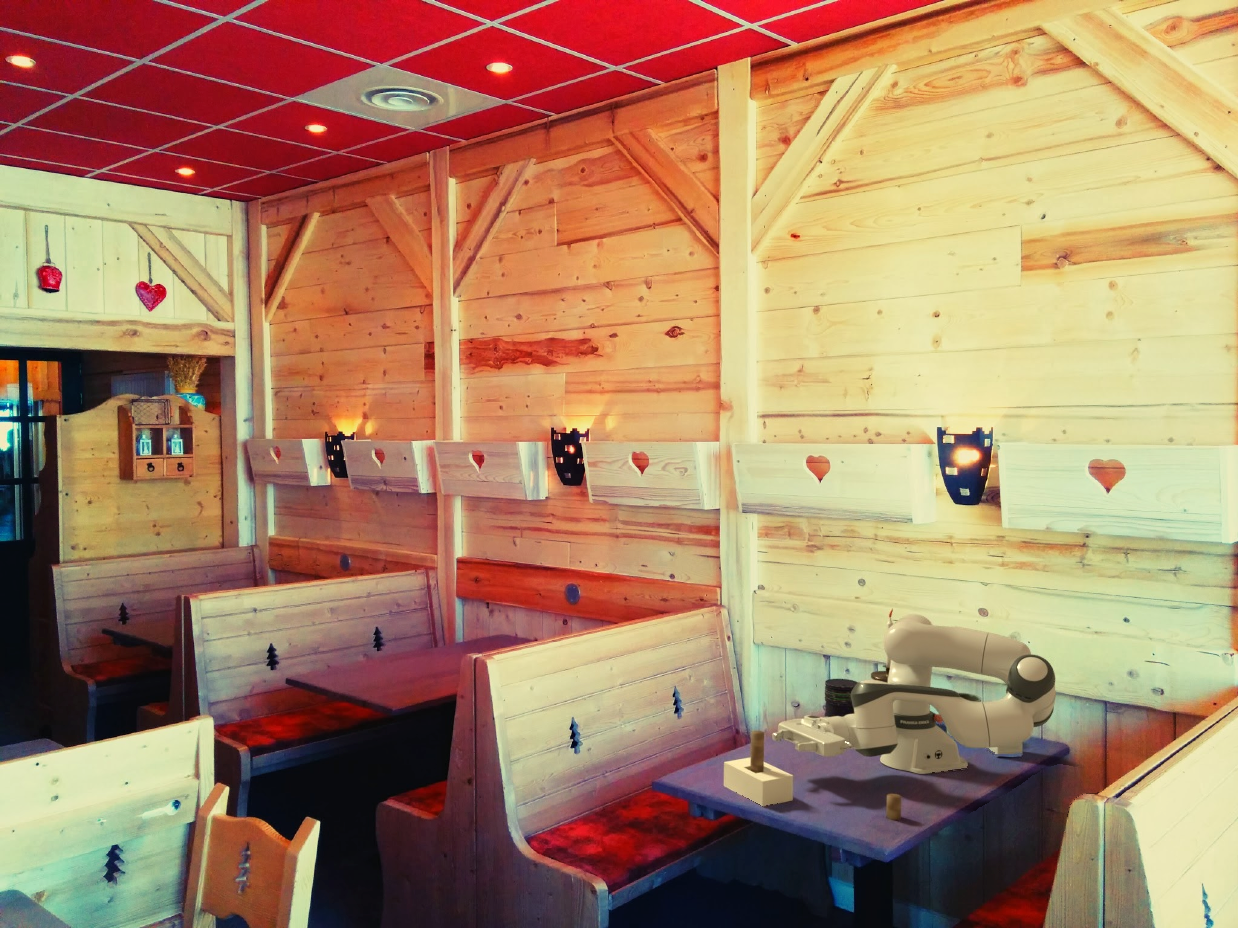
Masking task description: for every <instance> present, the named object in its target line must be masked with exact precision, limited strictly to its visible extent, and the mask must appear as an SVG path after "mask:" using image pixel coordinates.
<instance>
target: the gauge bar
mask: <svg viewBox="0 0 1238 928" xmlns="http://www.w3.org/2000/svg"><path fill="white" fill-rule="evenodd" d="M750 765H751V756H750V757H745V758H739V759H733V760H728V761H724V762H723V787H725V788H726V789H728V790H730V791H732V792H734V793H736V792H737V793H736V794H737V795H740V796H742V795H743V796H744V798H745V797H746V798H745V799H747V798H749V799H750V801H751V800H752V801H751V802H753V801H754V802H753V803H755V802H756V803H758V804H760V805H761V806H760V805H759V806H760V807H762V806H763V807H767V806H766V805H768V806H771V805H770V804H773V805H778V804H781V803H786V802H791V801H793V800H794V798H793V797H794V775H793V774H791V773H788V772H787V771H785V770H782V769H780V768H778V767H776V766H774V765H771V764H770V763H767V762H765V761H764V772H760V773H754V772H752V771H750ZM743 796H742V797H743ZM749 799H748V800H749ZM756 803H755V804H756ZM777 803H778V804H777ZM758 804H757V805H758Z"/></svg>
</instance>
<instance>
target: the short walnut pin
mask: <svg viewBox="0 0 1238 928" xmlns="http://www.w3.org/2000/svg"><path fill="white" fill-rule="evenodd" d="M886 818H887V819H888V820H891V821H900V820H901V818H902V796H901V795H900V794H898V793H888V794H886Z"/></svg>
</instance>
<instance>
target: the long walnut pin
mask: <svg viewBox="0 0 1238 928" xmlns="http://www.w3.org/2000/svg"><path fill="white" fill-rule="evenodd" d="M764 756H765V732H764V731H762V730H752V731H751V732H750V757H751V765H750V771H752V772H754V773H760V772H764V762H765V757H764Z"/></svg>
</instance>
